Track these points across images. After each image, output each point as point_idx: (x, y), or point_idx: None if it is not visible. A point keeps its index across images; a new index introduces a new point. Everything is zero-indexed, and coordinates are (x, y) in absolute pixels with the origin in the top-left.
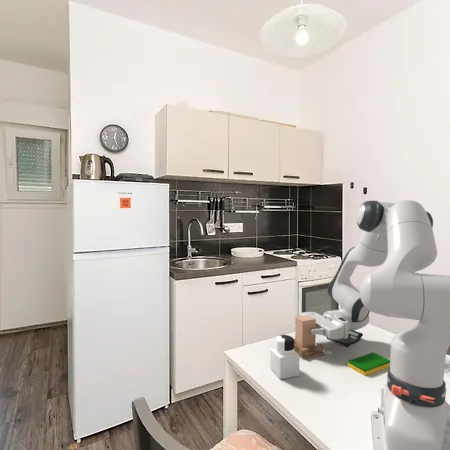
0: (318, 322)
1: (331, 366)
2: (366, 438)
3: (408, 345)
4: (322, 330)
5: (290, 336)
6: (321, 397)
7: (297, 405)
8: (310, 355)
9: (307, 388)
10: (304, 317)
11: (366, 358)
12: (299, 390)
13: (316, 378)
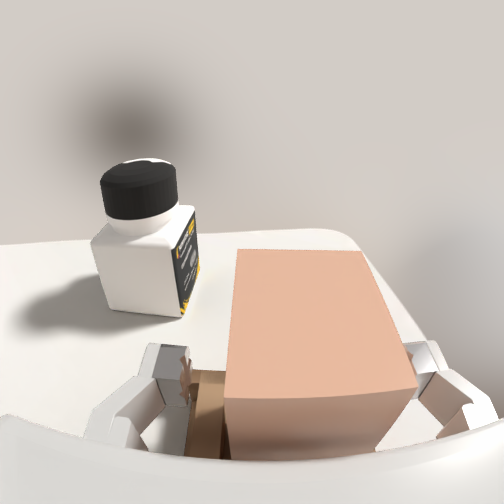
0: (233, 480)
1: None
2: None
3: None
4: (95, 420)
5: (126, 175)
6: (20, 296)
7: (51, 253)
8: (189, 435)
9: (59, 293)
10: (335, 304)
11: None
12: (71, 277)
13: (62, 341)
